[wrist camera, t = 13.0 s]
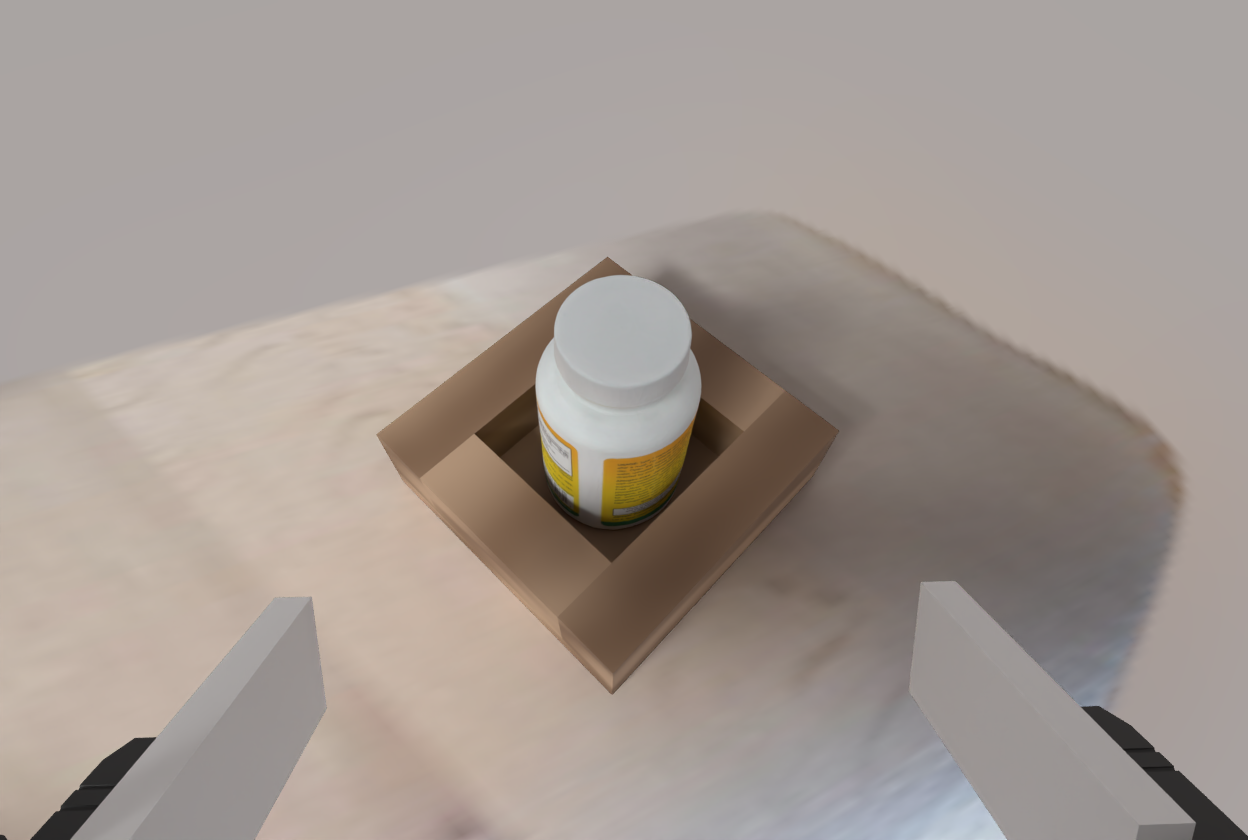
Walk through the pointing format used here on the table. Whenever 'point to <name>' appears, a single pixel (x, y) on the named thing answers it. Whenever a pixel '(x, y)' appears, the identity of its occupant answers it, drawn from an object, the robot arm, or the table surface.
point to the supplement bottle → (617, 401)
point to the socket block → (592, 557)
